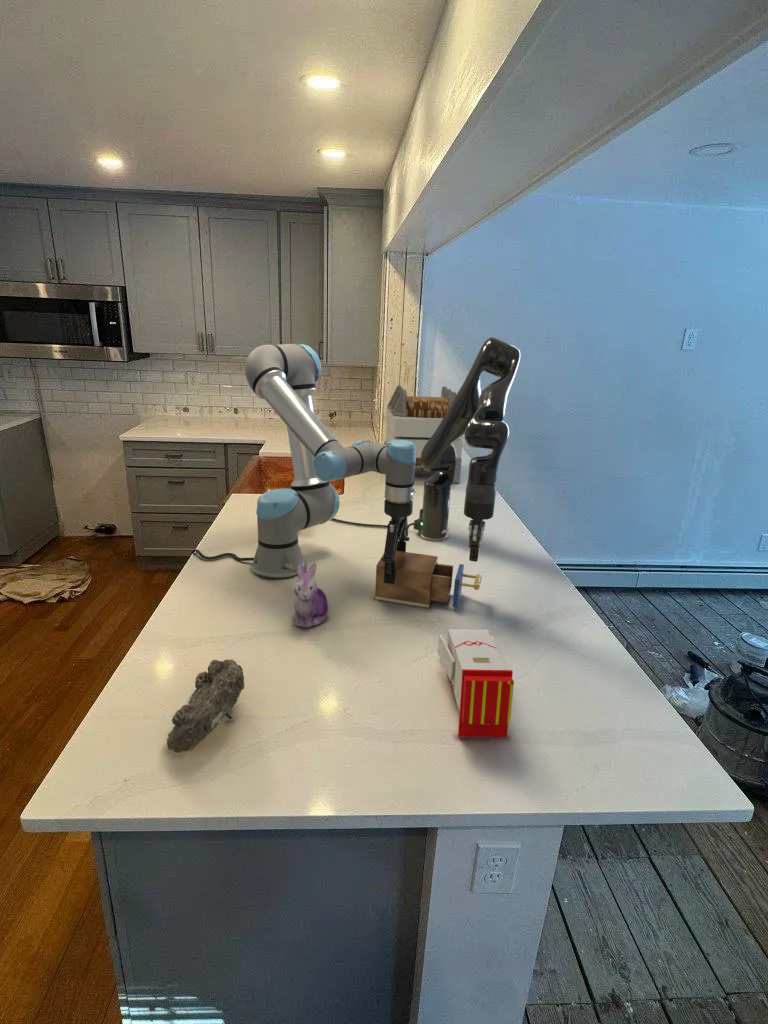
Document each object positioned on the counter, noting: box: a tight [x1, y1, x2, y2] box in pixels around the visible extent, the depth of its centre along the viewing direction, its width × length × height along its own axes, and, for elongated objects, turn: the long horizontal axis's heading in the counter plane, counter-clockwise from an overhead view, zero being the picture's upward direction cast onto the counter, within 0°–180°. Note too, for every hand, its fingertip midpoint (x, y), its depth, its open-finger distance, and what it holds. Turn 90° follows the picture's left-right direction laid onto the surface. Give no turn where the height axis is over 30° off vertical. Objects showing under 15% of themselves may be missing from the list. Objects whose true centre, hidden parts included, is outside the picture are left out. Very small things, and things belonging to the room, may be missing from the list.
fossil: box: [166, 658, 245, 754], centre depth 106 cm, size 22×10×15 cm
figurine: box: [293, 562, 329, 628], centre depth 140 cm, size 9×10×15 cm
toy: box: [437, 628, 515, 738], centre depth 117 cm, size 12×13×30 cm
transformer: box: [383, 384, 464, 484], centre depth 268 cm, size 34×33×41 cm
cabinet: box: [374, 551, 439, 609], centre depth 156 cm, size 15×11×10 cm
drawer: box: [430, 563, 482, 608], centre depth 154 cm, size 19×10×8 cm, turn 76°
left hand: (394, 572), depth 157 cm, fingers open, 13 cm apart
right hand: (473, 560), depth 150 cm, fingers closed
